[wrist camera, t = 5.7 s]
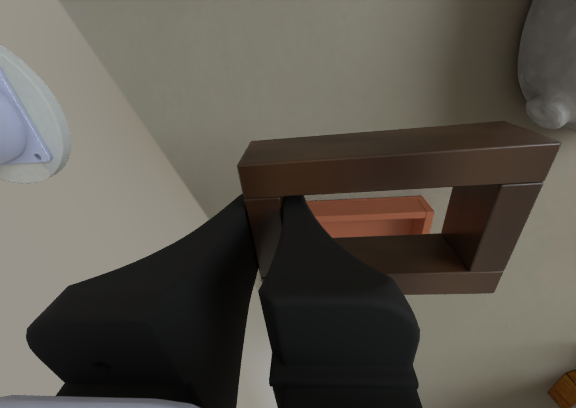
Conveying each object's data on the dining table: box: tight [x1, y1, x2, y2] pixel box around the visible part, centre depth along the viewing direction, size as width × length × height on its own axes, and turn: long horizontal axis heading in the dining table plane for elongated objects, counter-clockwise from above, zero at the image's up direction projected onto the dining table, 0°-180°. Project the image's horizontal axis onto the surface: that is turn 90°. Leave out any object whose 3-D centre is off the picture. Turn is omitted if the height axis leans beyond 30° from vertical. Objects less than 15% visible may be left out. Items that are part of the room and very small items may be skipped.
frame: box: [237, 121, 561, 295], centre depth 10 cm, size 9×6×2 cm, turn 96°
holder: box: [306, 196, 434, 238], centre depth 24 cm, size 12×9×2 cm
